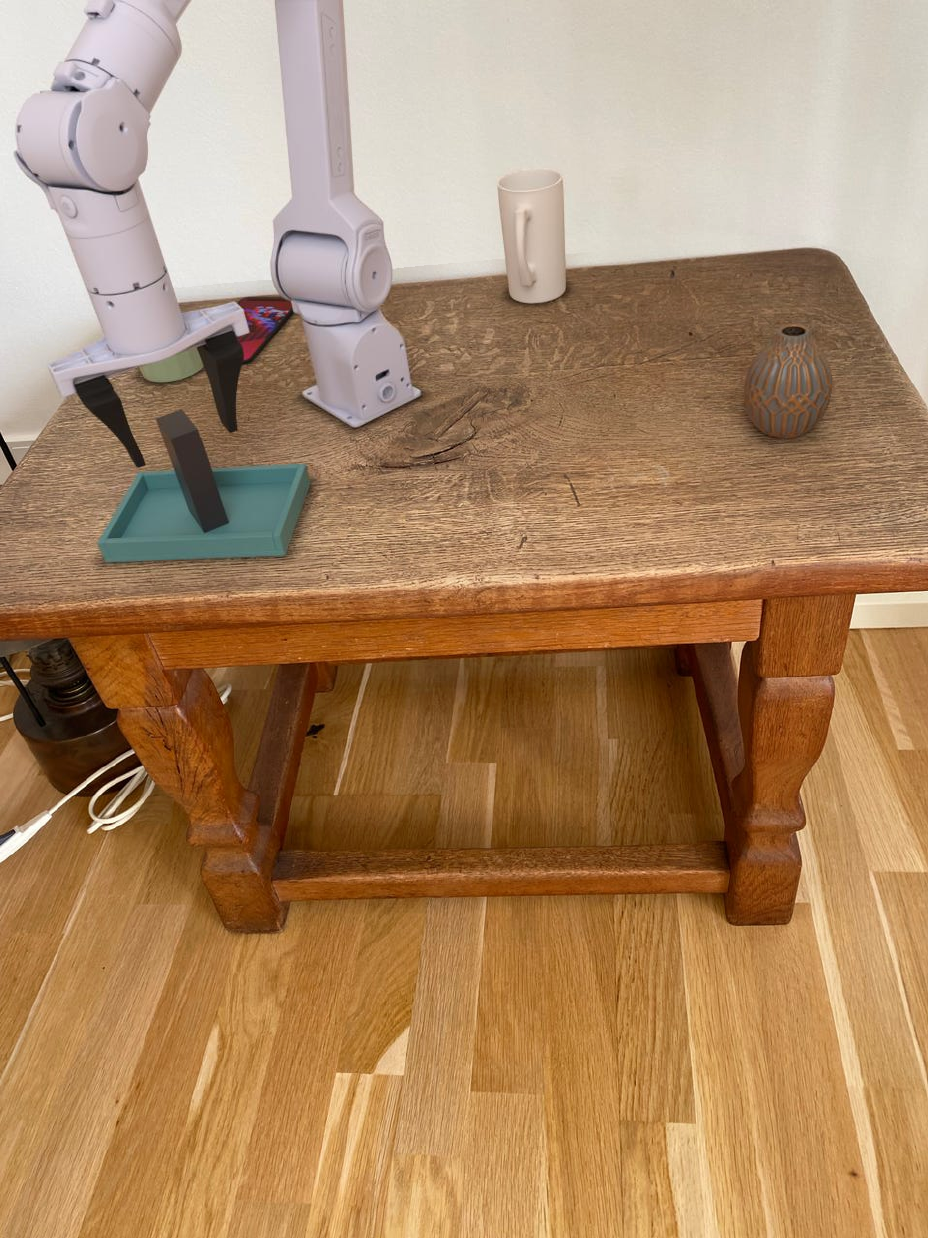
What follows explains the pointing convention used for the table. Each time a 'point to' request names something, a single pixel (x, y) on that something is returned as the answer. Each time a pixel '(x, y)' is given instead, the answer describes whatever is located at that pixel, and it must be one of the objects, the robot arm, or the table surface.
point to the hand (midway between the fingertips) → (184, 443)
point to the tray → (168, 531)
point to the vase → (788, 384)
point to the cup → (173, 367)
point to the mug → (533, 233)
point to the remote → (193, 470)
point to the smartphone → (262, 322)
